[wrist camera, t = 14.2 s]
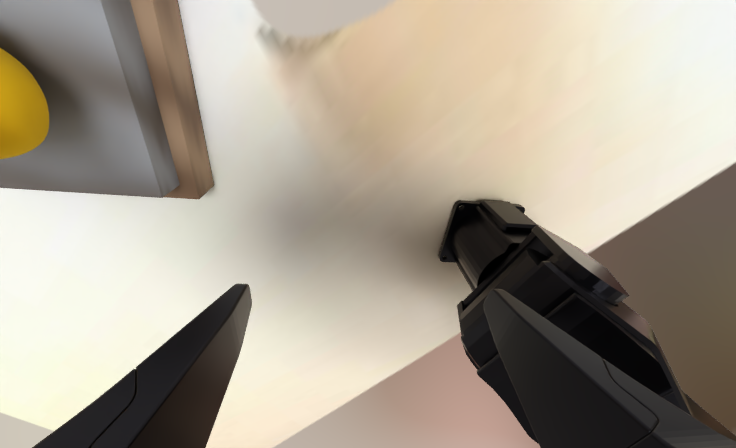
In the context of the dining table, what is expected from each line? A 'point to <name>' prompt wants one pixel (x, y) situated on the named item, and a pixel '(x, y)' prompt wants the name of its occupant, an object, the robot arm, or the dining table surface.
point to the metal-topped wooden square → (108, 98)
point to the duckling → (20, 109)
